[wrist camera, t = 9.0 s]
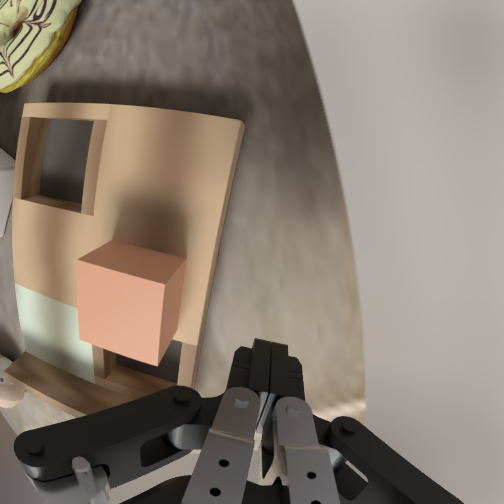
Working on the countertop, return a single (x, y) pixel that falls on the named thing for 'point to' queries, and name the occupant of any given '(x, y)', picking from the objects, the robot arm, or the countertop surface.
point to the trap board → (112, 236)
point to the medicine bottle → (5, 187)
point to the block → (129, 300)
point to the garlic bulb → (8, 387)
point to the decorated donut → (31, 37)
